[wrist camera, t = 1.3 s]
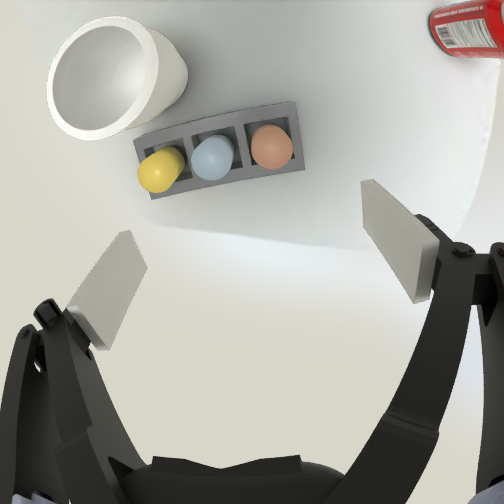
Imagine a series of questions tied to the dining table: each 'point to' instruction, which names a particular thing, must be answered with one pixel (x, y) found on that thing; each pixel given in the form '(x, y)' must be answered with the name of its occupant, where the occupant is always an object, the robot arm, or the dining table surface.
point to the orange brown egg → (271, 146)
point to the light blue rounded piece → (213, 157)
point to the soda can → (470, 28)
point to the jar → (113, 78)
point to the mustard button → (161, 169)
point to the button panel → (247, 166)
